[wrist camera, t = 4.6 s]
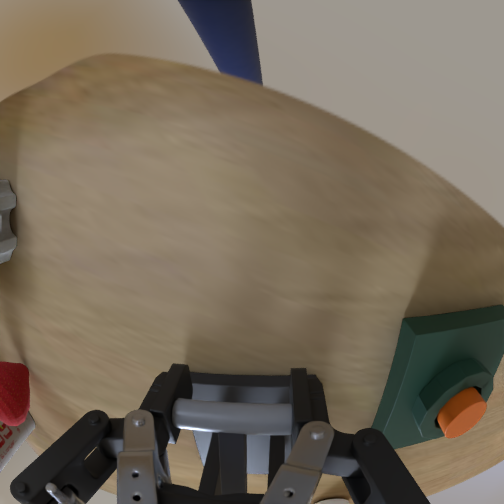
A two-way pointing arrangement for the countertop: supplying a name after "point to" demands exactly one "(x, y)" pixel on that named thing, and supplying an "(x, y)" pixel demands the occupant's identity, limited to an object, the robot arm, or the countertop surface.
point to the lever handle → (233, 431)
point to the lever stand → (258, 446)
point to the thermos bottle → (13, 438)
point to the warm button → (461, 412)
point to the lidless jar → (333, 501)
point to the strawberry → (14, 393)
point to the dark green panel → (438, 370)
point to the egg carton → (6, 221)
